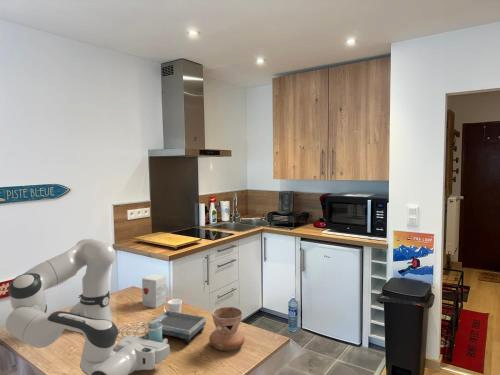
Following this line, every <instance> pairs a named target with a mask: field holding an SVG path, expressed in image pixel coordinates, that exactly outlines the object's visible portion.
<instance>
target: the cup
mask: <svg viewBox="0 0 500 375" xmlns="http://www.w3.org/2000/svg"><path fill="white" fill-rule="evenodd" d="M166 304H167V307H168V311H174V312H179V313H182V304H183V300H182V299H180V298H172V299H169V300H168V301H166V302H165V303H164V304H163V306H162V307H163V308H162V309H163V313H164V312H166V311H167V310H166Z"/></svg>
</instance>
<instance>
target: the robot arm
mask: <svg viewBox="0 0 500 375" xmlns="http://www.w3.org/2000/svg"><path fill="white" fill-rule="evenodd" d="M116 255H117V254H116V250H115V249H114V248H113V247H112V246H111V245H110V244H109V243H107V242H103V241H101V240H96V239H93V238H86V239H85V238H84V239H81V240H79V241H77V242H76V244H75V245H74V246H73V247H70V248H69V249H68V250H66V251H65V252H63V253H60V254H59V255H56V256H54V257H51V258H50V259H47V260H45V261H43V262H40V263H38V264H37V265H35V266H33V267H31V268H30V269H28V270H26V271H25V272H24V273H22V274H19V275H17V276H16V277H15V278H13V279H12V280H11V281H10V283H9V285H8V295H9V299H10V305H11V307H12V309H13V310H12V311H11V312H10V313H9V315H8V316H7V318H6V319H5V320H6V321H5V328H6V330H7V331H8V333H10V335H12V336H13V337H14V338H16V339H18V340H19V341H20V342H23V343H25V344H26V345H29V346H30V347H33V348H37V349H42V348H46V347H48V346H50V345H52V344H54V343H55V342H56V341H57V340H58V339H59V338H60V337H61V335H63V332H64V331H65V330H68V331H72V332H76V333H80V334H82V335H83V337H84V344H83V349H82V353H81V357H80V361H79V362H80V364H79V367H80V369H81V371H82V372H83V373H84V374H86V375H129V374H132V373H133V372H136V371H143V370H145V371H146V370H148V371H150V370H153V369H155V367H156V365H159V364H160V363H162V362H163V361H164V360H165V359H166V358H168V356H170V354H171V350H170V348H171V347H170V344H169V343H168V342H169V341H168V340H169V339H168V338H165V337H164V338H162V342H161V343H160V342H156V341H151V340H149V339H148V334H146V333H144V334H142V335H138V336H132V335H126V336H124V337H123V338H122V339H120V340H119V341H118V342H117V344H116V345H115V343H116V341H117V338H118V335H119V328H118V327H117V325H116V324H115V323H114V322H113V321H114V319H113V313H112V308H111V303H110V298H111V297H110V290H109V272H110V269H111V266H112V264H113V263H114V261H115V260H116V257H117V256H116ZM85 266H86V269H85V274H84V275H83V277H82V279H81V280H82V284H81V285H82V293H81V294H80V295H78V299H80V300H79V302H77V303H76V304H75V305H73V306H72V307H71V308H70V310H69V312H68V311H62V310H60V311H58V310H57V311H53V312H52V313H47V310H48V305H47V300H46V293H45V291H46V290H47V289H49V288H52V287H55V286H56V285H58V284H59V285H60V283H63V282H64V281H66V280H68V279H70V278H72V277H74V276H76V275H77V273H78V271H80V270H81V269H83V267H85Z"/></svg>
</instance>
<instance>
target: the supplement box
mask: <svg viewBox="0 0 500 375" xmlns="http://www.w3.org/2000/svg"><path fill="white" fill-rule="evenodd" d="M166 278H167V276H166V275H164V274H157V273H151V274H149V275H147V276H144V277H142V280H141V283H142V288H141V290H142V292H141V293H142V295H141V296H142V306H143V307H148V308H153V309H158V308H159V307H160V306H163V305H164V304H165V303H166V302H167V301H166V300H167V298H166V296H167V292H166V290H167V287H166V285H167V284H166V282H167V279H166Z"/></svg>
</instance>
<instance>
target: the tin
mask: <svg viewBox="0 0 500 375" xmlns="http://www.w3.org/2000/svg"><path fill="white" fill-rule="evenodd" d="M147 329H148V331H147V332H148V334H147V338H148V340H151V341H156V342H160V343H161V342H162V339H163V334H162V324H160V323H153V324H150V325H149V324H148V326H147Z"/></svg>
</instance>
